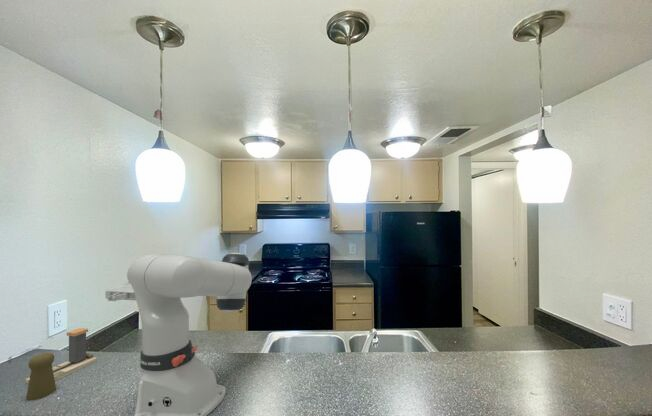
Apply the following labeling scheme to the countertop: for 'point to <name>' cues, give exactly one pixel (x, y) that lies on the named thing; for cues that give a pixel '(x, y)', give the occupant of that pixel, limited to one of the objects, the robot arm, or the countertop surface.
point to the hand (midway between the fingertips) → (110, 298)
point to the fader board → (70, 367)
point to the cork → (41, 377)
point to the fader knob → (77, 344)
